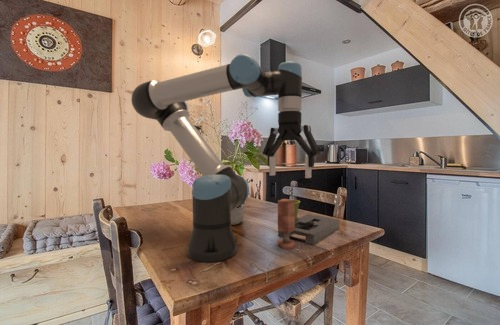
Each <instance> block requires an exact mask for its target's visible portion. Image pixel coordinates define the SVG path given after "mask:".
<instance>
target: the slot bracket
mask: <svg viewBox="0 0 500 325" xmlns="http://www.w3.org/2000/svg"><path fill="white" fill-rule="evenodd" d="M311 225H312V229H310V230H308V229H306V228H307V227H309V226H311ZM338 229H340V219H338V218H332V217H326V216H320V215H315V214H314V215H313V214H306V215H303V216H301V217H297V219H296V220H295V230H294V231H292V232H290V233H289V237H290V236H292V235H293V234H294V235H297V236H302V237H305V244H309V245H313V246H315V245H316V244H317V243H319V242H320V241H322V240H323V239H325V238H327V237H328V236H329V235H331V234H332V233H335V231H337V230H338ZM277 235H278V237H281V238H283V232H281V231H278V230H277Z"/></svg>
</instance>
